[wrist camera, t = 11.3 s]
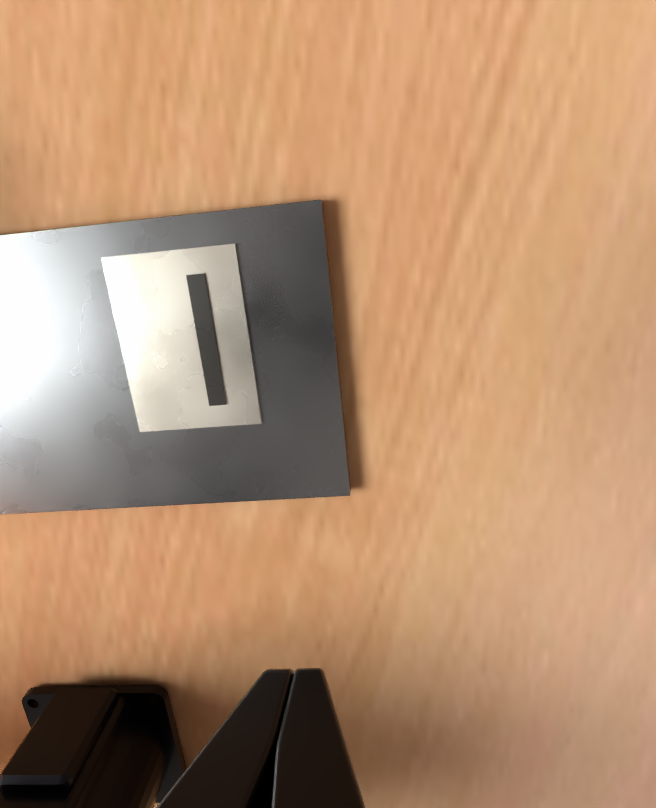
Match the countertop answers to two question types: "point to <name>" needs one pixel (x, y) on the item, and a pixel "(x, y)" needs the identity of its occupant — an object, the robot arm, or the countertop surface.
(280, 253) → the plate
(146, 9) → the countertop surface
